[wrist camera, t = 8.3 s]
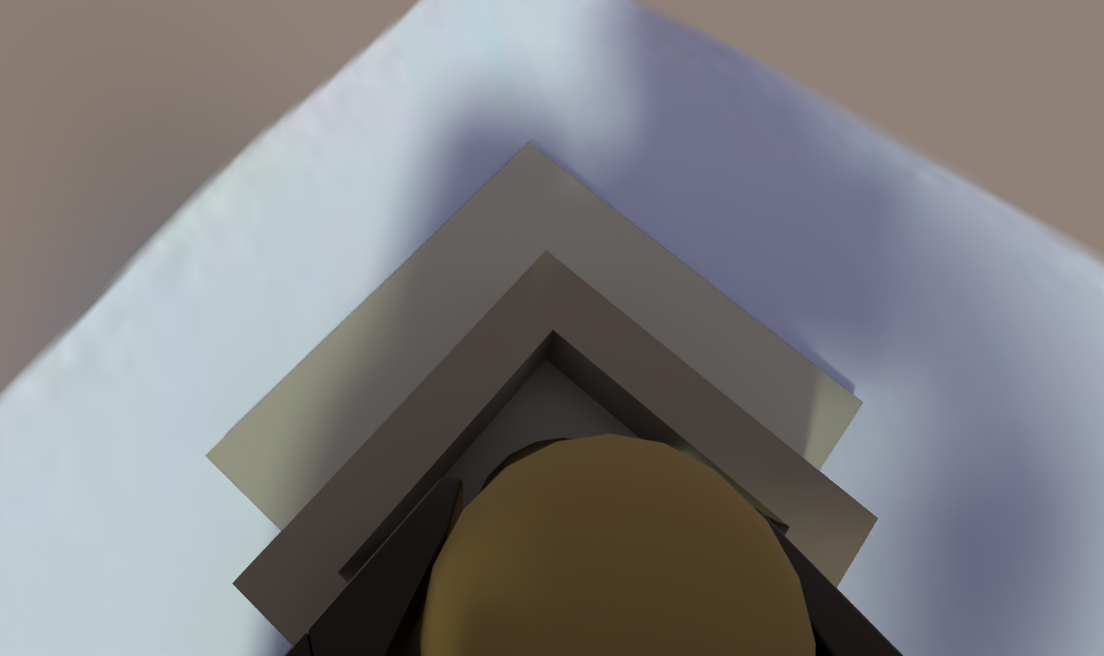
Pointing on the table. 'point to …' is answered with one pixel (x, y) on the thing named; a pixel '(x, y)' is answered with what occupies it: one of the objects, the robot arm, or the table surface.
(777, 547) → the cork
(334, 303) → the table surface
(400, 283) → the socket
